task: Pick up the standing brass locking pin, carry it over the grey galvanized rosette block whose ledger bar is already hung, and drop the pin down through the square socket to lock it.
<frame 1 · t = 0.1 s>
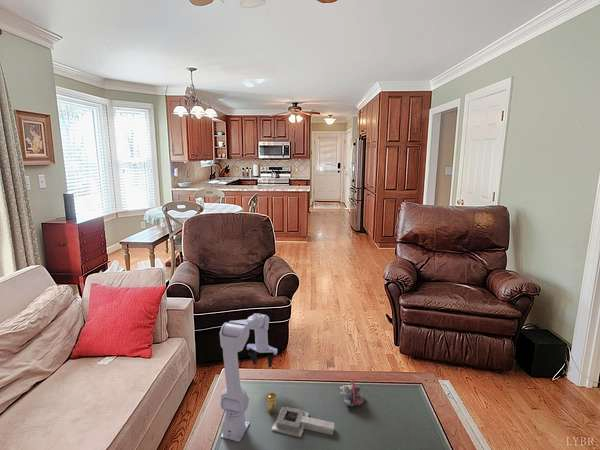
hand: (262, 364, 162), 10 cm above the table, fingers open, 7 cm apart
pin: (271, 410, 148), on the table
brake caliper: (351, 400, 154), on the table
rosette: (291, 422, 142), on the table
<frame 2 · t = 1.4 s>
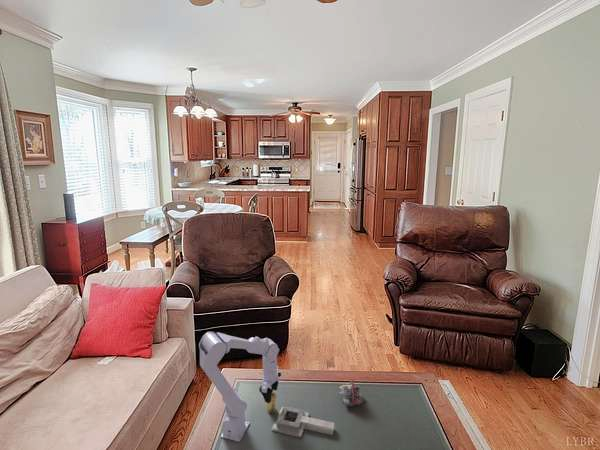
hand: (271, 395, 147), 7 cm above the table, fingers open, 7 cm apart
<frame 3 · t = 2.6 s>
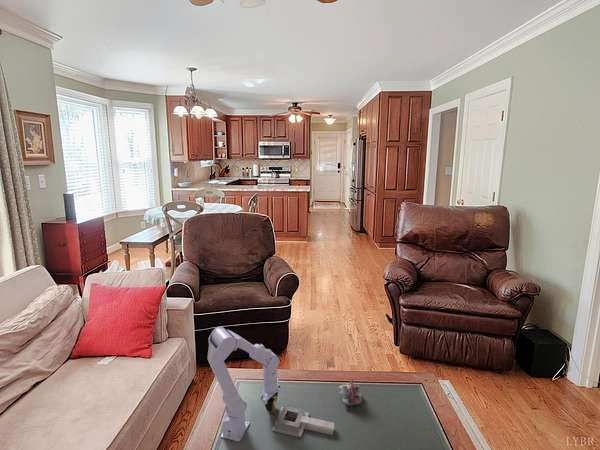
hand: (271, 406, 148), 2 cm above the table, fingers closed on pin, 4 cm apart
pin: (271, 410, 148), on the table, touching gripper
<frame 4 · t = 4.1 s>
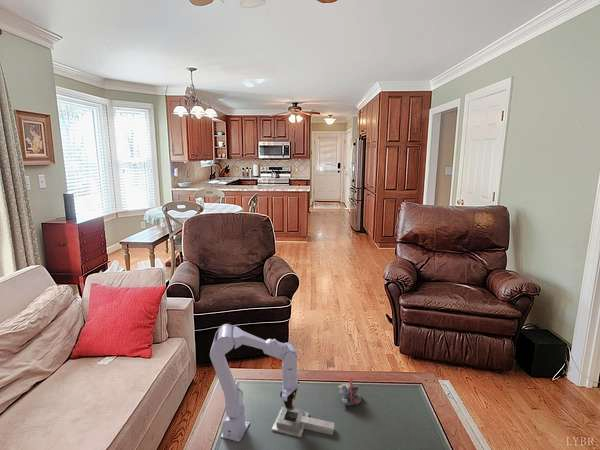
hand: (290, 403, 140), 9 cm above the table, fingers closed on pin, 4 cm apart
pin: (289, 407, 141), point 7 cm above the table, touching gripper
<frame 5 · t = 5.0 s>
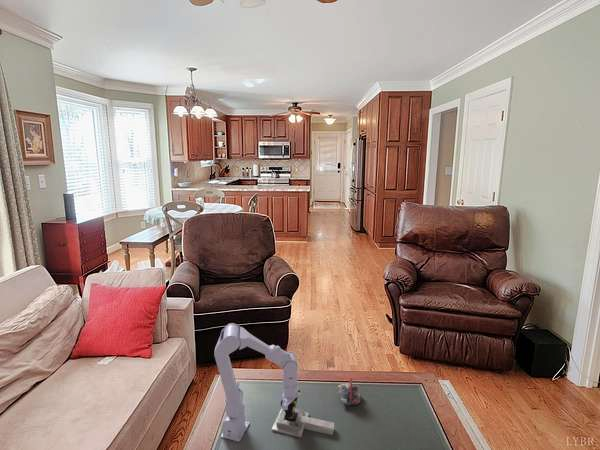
hand: (290, 412, 141), 5 cm above the table, fingers closed on pin, 4 cm apart
pin: (290, 415, 142), point 3 cm above the table, touching gripper
when the fingers open (4 cm above the table, at t = 5.8 s): pin drops 2 cm, resting in rosette.
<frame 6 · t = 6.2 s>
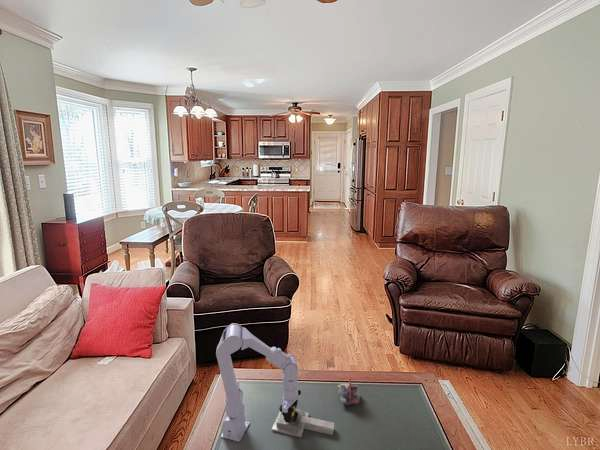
hand: (290, 414, 141), 4 cm above the table, fingers open, 7 cm apart
pin: (290, 421, 142), resting in rosette
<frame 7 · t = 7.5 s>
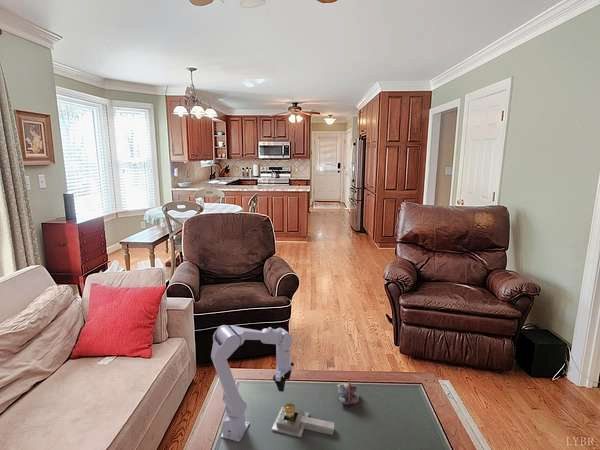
hand: (284, 384, 149), 10 cm above the table, fingers open, 7 cm apart
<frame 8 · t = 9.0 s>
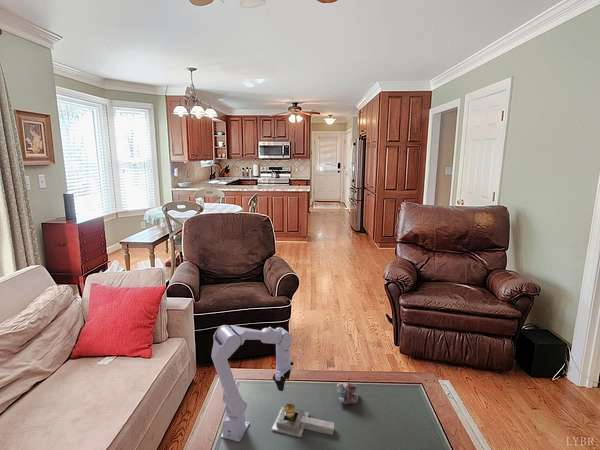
hand: (283, 384, 150), 10 cm above the table, fingers open, 7 cm apart
at the end: pin 0.6 cm off-centre on the rosette, point 0.0 cm above the rosette's base; pin tilted 1°; the gripper is holding nothing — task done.
